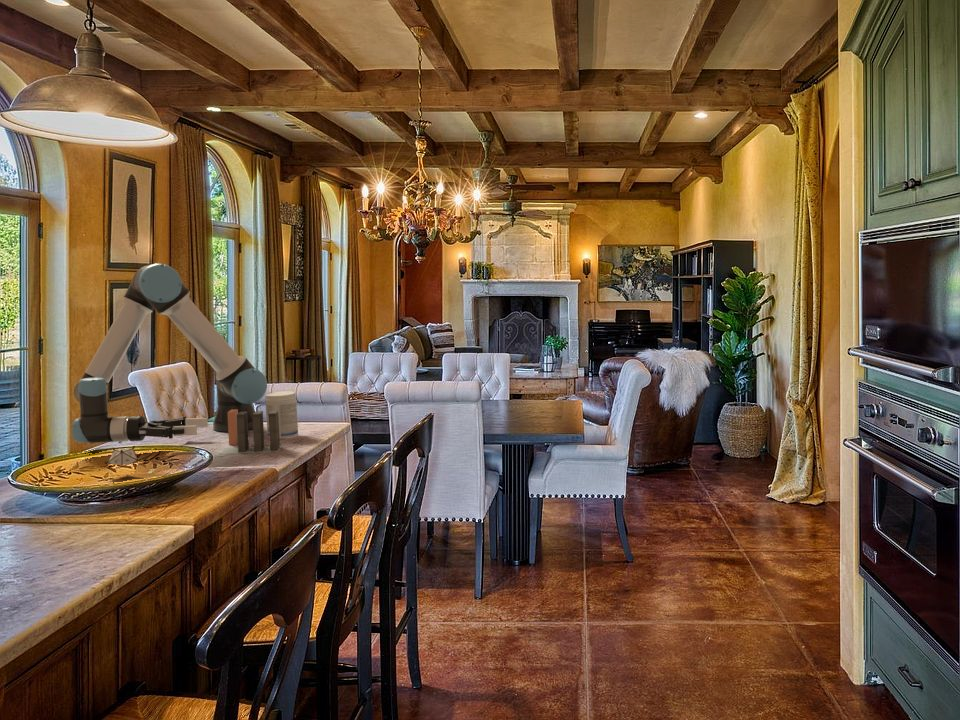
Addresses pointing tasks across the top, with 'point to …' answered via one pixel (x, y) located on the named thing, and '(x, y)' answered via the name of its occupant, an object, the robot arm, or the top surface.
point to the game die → (123, 456)
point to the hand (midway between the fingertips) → (202, 426)
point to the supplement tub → (283, 412)
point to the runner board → (250, 450)
